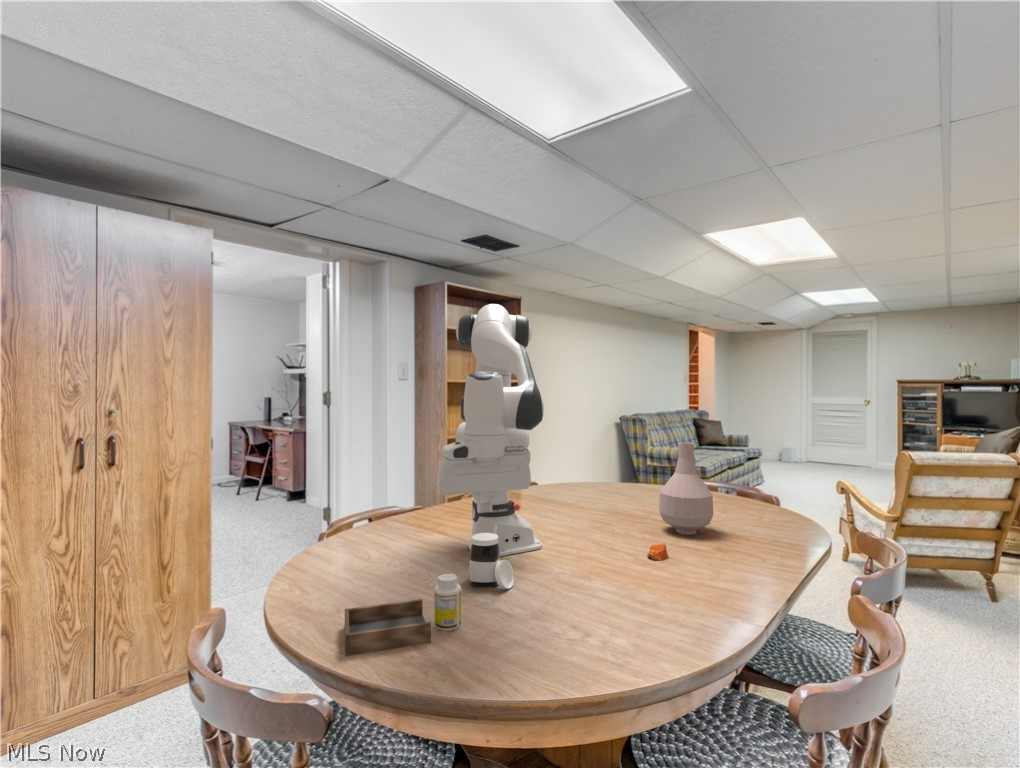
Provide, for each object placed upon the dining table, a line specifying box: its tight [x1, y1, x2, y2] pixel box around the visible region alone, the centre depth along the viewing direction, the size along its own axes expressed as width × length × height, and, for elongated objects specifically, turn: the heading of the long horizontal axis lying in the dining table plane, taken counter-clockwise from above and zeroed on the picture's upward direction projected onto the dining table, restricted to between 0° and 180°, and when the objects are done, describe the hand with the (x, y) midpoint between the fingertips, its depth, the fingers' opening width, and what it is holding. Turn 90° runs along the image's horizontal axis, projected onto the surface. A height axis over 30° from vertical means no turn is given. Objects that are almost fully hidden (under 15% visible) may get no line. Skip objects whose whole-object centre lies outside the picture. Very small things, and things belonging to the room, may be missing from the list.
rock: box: [647, 542, 669, 562], centre depth 152 cm, size 12×12×4 cm
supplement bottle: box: [433, 573, 462, 632], centre depth 109 cm, size 6×6×10 cm
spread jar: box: [469, 533, 515, 590], centre depth 132 cm, size 12×11×12 cm
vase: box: [658, 441, 714, 536], centre depth 177 cm, size 18×18×30 cm
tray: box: [344, 598, 432, 657], centre depth 105 cm, size 16×12×4 cm
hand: (484, 512), depth 111 cm, fingers closed
